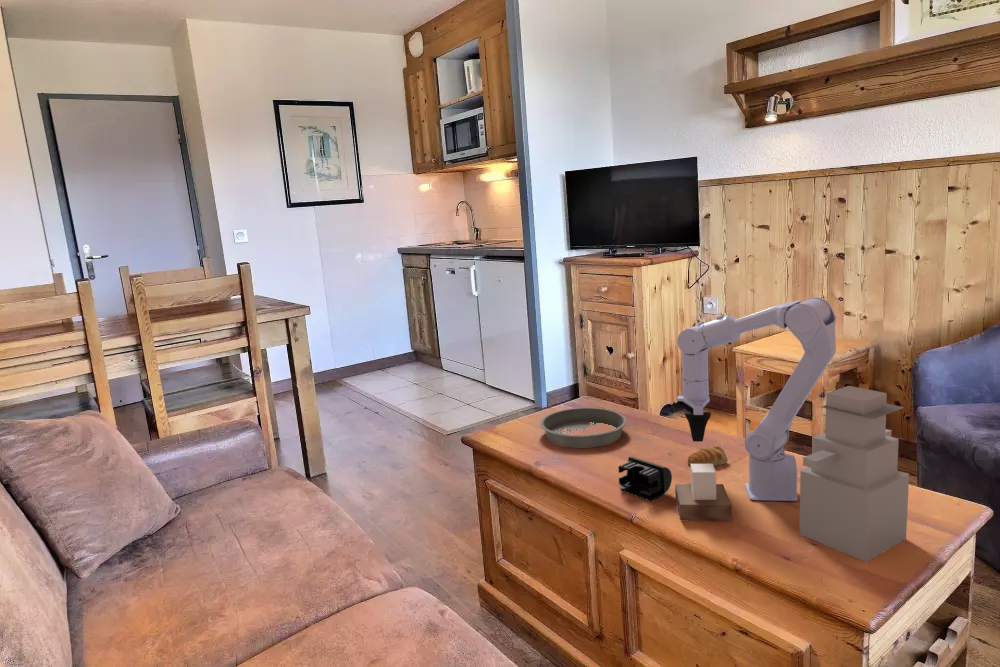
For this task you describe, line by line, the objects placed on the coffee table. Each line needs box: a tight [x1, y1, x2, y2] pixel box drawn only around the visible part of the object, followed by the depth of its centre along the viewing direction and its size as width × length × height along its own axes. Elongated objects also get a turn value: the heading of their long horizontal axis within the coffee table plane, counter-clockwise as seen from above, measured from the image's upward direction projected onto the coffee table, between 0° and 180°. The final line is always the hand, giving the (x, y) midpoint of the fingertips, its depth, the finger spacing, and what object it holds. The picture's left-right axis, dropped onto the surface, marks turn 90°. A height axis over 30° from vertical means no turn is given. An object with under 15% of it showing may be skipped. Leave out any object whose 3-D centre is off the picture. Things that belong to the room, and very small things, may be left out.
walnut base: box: [674, 483, 733, 522], centre depth 136 cm, size 10×10×4 cm
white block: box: [689, 464, 717, 500], centre depth 135 cm, size 4×4×6 cm
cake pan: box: [539, 407, 628, 449], centre depth 186 cm, size 25×25×4 cm
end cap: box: [618, 456, 673, 502], centre depth 147 cm, size 10×7×7 cm
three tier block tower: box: [798, 385, 910, 563], centre depth 120 cm, size 13×24×28 cm, turn 121°
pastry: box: [687, 445, 729, 467], centre depth 161 cm, size 9×7×4 cm
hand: (696, 435), depth 151 cm, fingers open, 7 cm apart
